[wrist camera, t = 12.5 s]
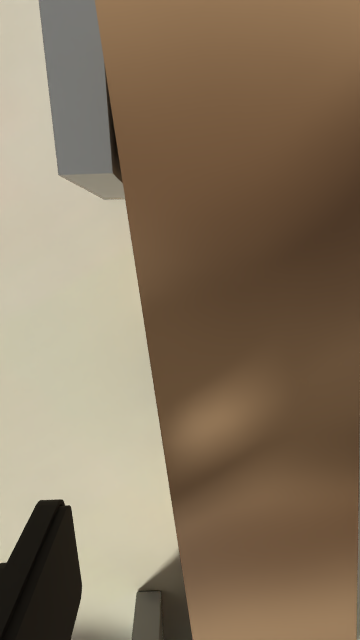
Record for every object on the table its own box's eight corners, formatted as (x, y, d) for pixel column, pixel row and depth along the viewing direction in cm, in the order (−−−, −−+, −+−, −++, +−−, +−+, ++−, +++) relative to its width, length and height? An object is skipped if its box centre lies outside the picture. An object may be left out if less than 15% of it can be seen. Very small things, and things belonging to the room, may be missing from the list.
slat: (134, 116, 10) (93, -5, 5) (270, 98, 10) (365, -43, 5) (204, 618, 15) (218, 809, 10) (294, 609, 14) (354, 796, 10)
